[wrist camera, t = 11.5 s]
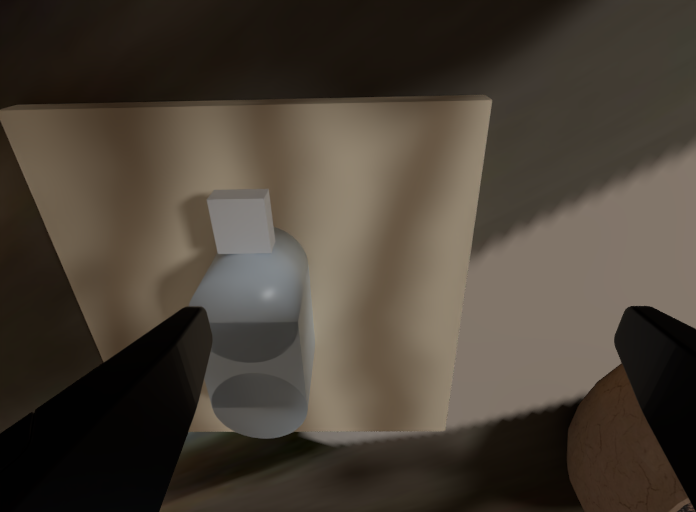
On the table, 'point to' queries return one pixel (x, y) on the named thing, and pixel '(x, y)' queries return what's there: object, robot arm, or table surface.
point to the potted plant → (619, 454)
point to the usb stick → (257, 318)
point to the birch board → (288, 215)
